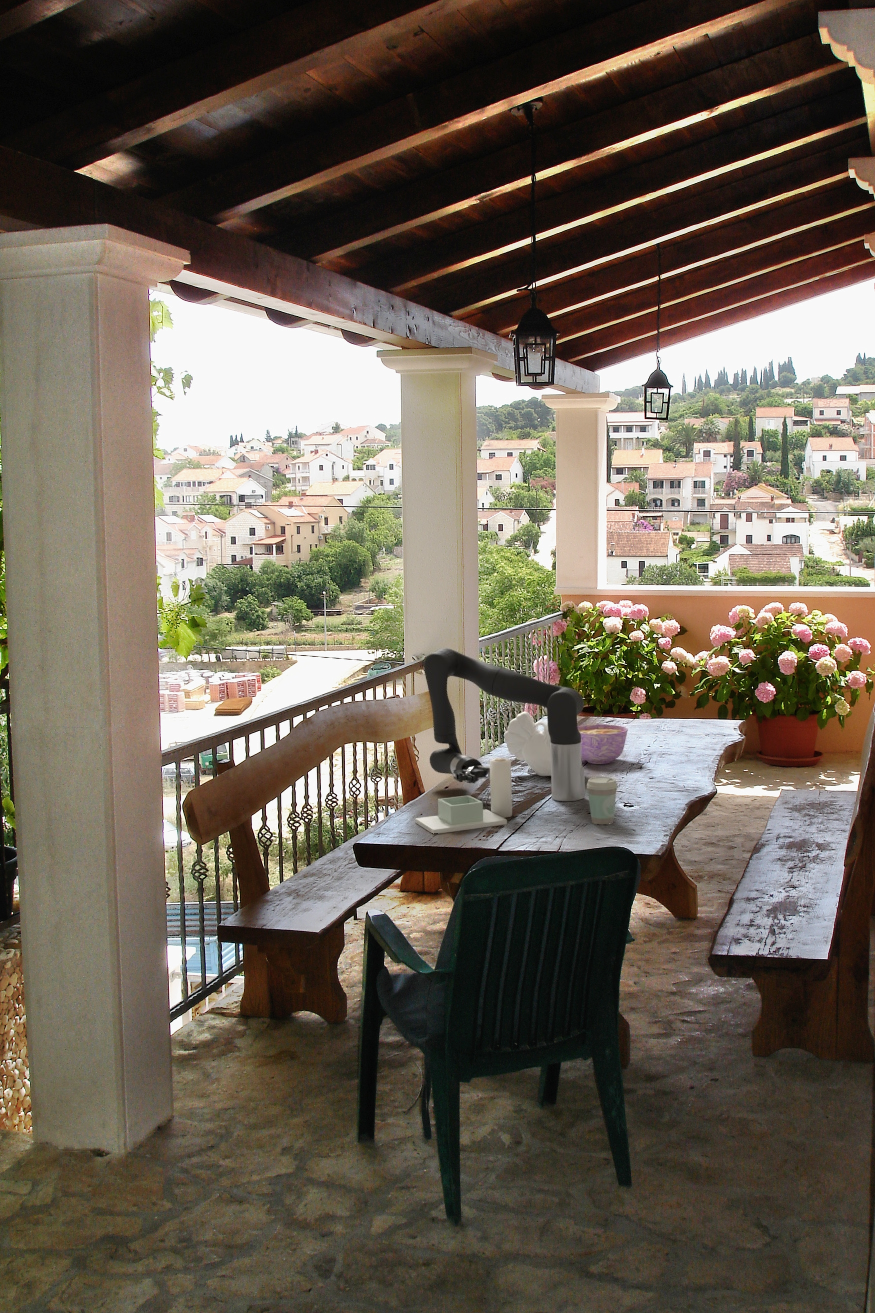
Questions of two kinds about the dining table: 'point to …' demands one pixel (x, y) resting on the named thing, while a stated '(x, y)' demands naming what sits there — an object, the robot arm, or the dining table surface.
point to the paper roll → (501, 787)
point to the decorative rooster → (530, 743)
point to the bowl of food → (602, 742)
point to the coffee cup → (602, 799)
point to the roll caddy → (460, 816)
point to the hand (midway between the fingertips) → (487, 778)
